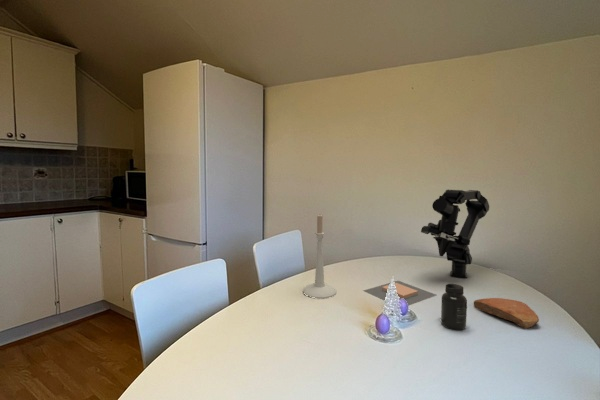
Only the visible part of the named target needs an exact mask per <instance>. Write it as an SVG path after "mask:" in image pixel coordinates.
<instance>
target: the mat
mask: <svg viewBox="0 0 600 400" xmlns="http://www.w3.org/2000/svg"><path fill="white" fill-rule="evenodd" d="M394 282H395V283H398V284H401V285H403V286H406V287H409V288H411V289H414V290H417V291H418V295H416V296H413V297H410V298H407V299H405V300H406V301H407V303H408V306H412V305H414V304H417V303H420V302H423V301H425V300H427V299H431V298H434V297H435V296H438V295H437V294H436V293H433V292H430V291H427V290H425V289H423V288H419V287H416V286H415V285H412V284H408V283H406V282H403V281H400V280H395V281H394ZM390 283H391V282H388V283H384V284H381V285H378V286H374V287H371V288H367V289H364V290H362V292H365V293H367V294H369V295H372V296H374V297H376V298H378V299H380V300H382V301H384V300H385V297H386V292H384V291H382V287H383V286H387V285H389V284H390ZM408 306H407V307H408Z"/></svg>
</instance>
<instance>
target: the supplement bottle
mask: <svg viewBox="0 0 600 400" xmlns="http://www.w3.org/2000/svg"><path fill="white" fill-rule="evenodd" d="M444 290H445V292H444V293H443V294H442V295H441V303H440V304H441V306H440V307H441V311H440V312H441V313H440V314H441V315H440V316H441V317H440V319H441V320H440V323H441V324H442V326H443V327H445V328H447V329H450V330H454V331H461V330H464V329H465V328H466V327H467V316H468V315H467V310H468V309H467V308H468V300H467V297H466V296H465V295H464V292H465V291H464V287H463V286H462V285H461V284H457V283H456V284H455V283H447V284H445V289H444Z"/></svg>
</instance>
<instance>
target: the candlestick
mask: <svg viewBox="0 0 600 400" xmlns="http://www.w3.org/2000/svg"><path fill="white" fill-rule="evenodd" d="M323 220H324V219H323V215H322V214H319V215H317V217H316V224H317V225H316V232H315V233H314V234H315V236H316V237H315V238H316V239H317V241H316V254H315V255H316V257H315V259H316V260H315V273H314V274H315V276H314V283H311V284H308V285H306V286H304V287H303V289H302V293H303V292H304V293H305V294H306V295H308V296H311V297H315V298H326V299H330V298H329V297H331V298H333V297H335V296H336V295H337V289H336V288H335V287H334V286H332V285H331V284H328V283H325V274H324V272H325V271H324V254H323V253H324V251H323V250H324V249H323V247H324V246H323V238H324V234H325V232H323ZM334 295H335V296H334ZM332 296H333V297H332ZM315 298H314V299H315Z"/></svg>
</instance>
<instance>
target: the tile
mask: <svg viewBox="0 0 600 400" xmlns="http://www.w3.org/2000/svg"><path fill="white" fill-rule="evenodd" d="M388 286H389V285H387V286H383V287H382V291H384V292H386V293H387V289H388ZM395 286H396V289H397V294H398V296H399V297H400V298H404V299H407V298H410V297H413V296H416V295H418V291H417V290H414V289H411V288H409V287H406V286H403V285H401V284H398V283H395Z"/></svg>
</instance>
